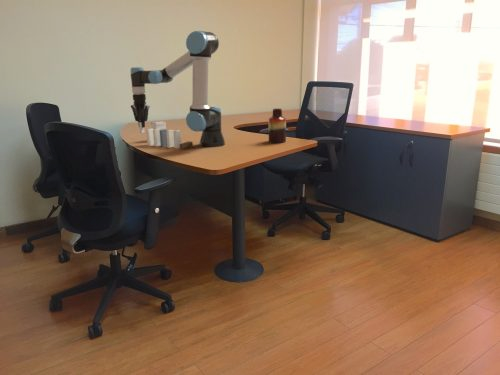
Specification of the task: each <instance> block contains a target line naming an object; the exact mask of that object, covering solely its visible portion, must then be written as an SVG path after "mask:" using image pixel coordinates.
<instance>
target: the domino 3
mask: <svg viewBox="0 0 500 375" xmlns="http://www.w3.org/2000/svg"><path fill="white" fill-rule="evenodd" d="M167 130H168V129H167V128H166V129H163V130H160V143H161V145H160V147H161V148H165V147H168V146H167V132H166V131H167Z"/></svg>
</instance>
